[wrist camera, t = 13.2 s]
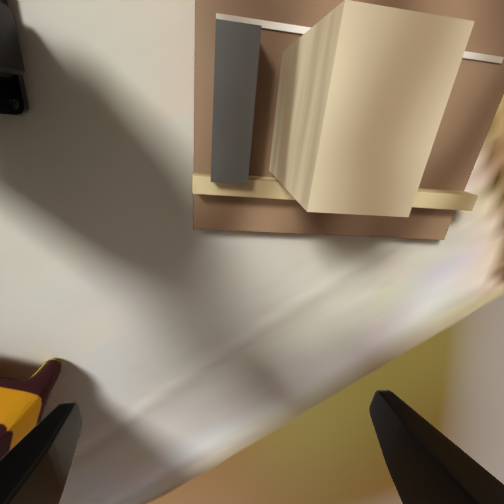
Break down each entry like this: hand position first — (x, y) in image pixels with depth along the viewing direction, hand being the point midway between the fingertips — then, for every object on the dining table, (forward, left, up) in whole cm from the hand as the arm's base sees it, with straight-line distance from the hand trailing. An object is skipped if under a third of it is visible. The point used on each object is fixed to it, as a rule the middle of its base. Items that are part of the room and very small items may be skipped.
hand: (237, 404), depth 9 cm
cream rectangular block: (+4, +8, -12) cm, 15 cm away
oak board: (+7, +8, -13) cm, 17 cm away
